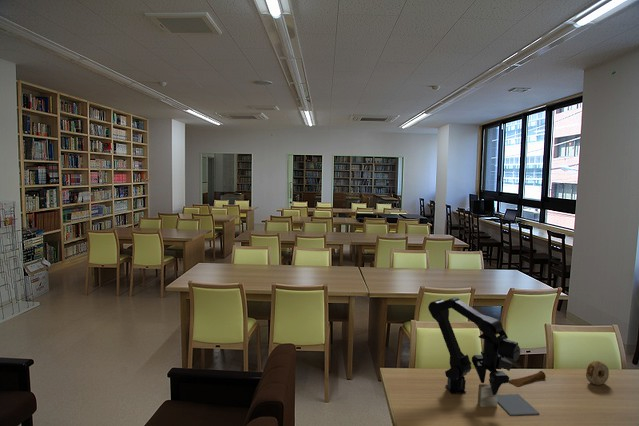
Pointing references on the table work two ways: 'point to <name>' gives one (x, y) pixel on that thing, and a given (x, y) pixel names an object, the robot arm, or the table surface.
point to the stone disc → (597, 373)
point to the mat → (516, 405)
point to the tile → (486, 396)
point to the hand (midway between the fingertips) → (488, 388)
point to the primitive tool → (527, 379)
